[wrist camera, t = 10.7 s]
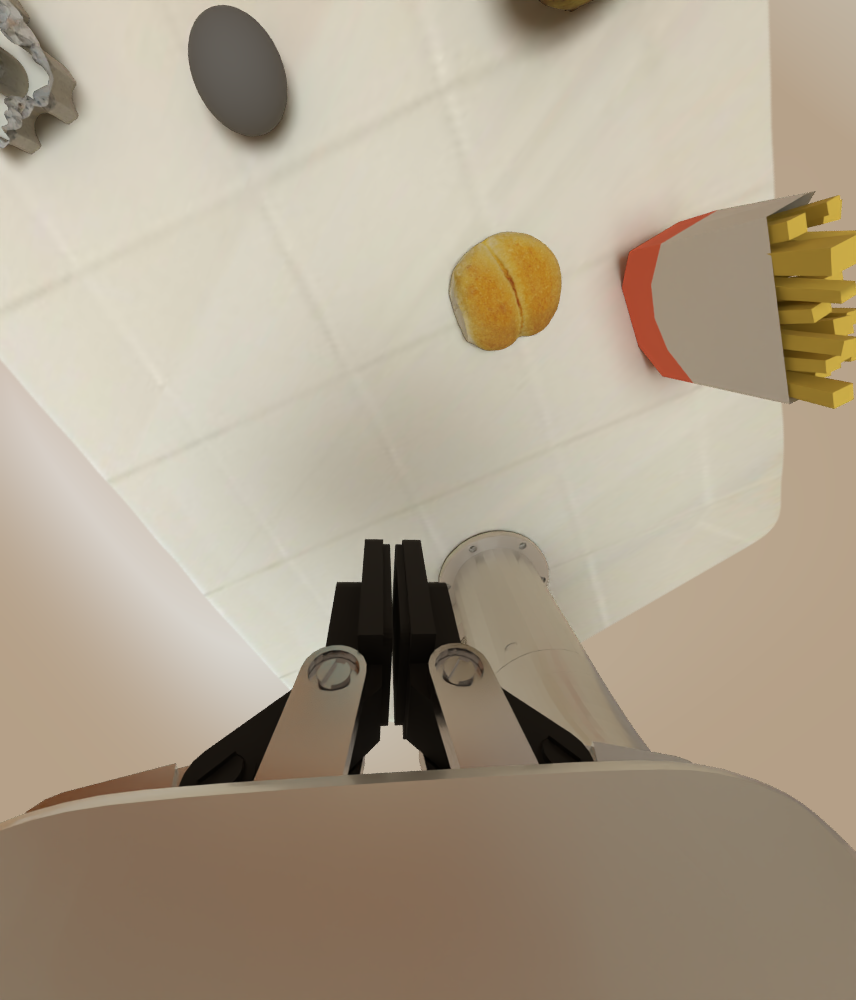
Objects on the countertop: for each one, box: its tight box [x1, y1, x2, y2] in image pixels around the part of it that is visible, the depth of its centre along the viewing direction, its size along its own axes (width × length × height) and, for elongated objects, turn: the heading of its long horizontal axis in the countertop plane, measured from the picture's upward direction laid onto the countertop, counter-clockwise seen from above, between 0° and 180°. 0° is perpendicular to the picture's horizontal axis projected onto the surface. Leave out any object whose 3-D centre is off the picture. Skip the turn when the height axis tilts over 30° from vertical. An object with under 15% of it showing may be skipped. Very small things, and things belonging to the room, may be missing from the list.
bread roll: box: [449, 232, 561, 351], centre depth 32 cm, size 8×9×4 cm
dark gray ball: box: [188, 5, 287, 136], centre depth 25 cm, size 6×6×6 cm
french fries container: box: [622, 191, 856, 409], centre depth 27 cm, size 5×11×18 cm, turn 29°
